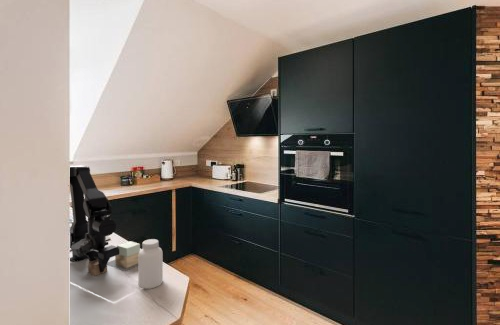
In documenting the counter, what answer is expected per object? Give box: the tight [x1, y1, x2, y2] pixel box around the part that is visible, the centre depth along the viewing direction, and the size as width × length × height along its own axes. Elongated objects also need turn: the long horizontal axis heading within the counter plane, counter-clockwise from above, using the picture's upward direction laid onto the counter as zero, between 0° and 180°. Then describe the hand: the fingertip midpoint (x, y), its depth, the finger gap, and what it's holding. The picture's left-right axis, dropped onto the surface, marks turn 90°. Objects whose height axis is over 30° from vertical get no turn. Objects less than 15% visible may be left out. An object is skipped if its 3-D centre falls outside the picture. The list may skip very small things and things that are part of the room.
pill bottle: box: [137, 238, 164, 290], centre depth 95 cm, size 8×8×15 cm
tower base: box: [114, 253, 139, 268], centre depth 111 cm, size 7×7×4 cm
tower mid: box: [116, 240, 141, 257], centre depth 111 cm, size 6×6×4 cm
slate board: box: [107, 259, 138, 272], centre depth 111 cm, size 13×10×1 cm
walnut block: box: [87, 259, 108, 277], centre depth 103 cm, size 4×4×4 cm
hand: (97, 270), depth 103 cm, fingers closed on walnut block, 4 cm apart
